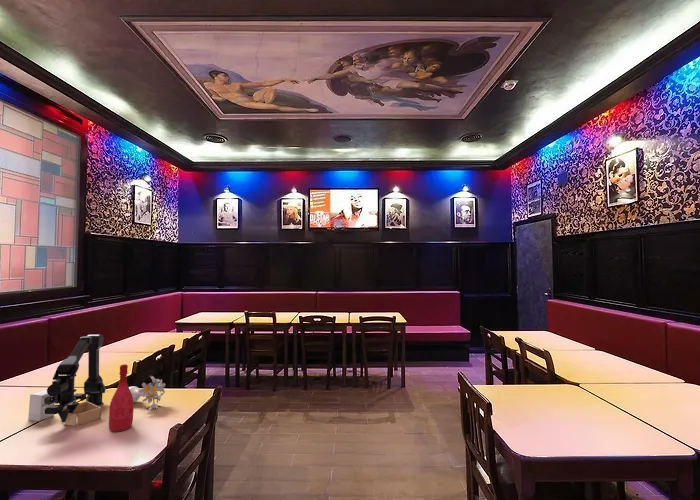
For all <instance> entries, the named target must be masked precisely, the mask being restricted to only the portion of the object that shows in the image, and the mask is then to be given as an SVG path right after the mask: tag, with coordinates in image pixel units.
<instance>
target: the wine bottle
mask: <svg viewBox="0 0 700 500" xmlns="http://www.w3.org/2000/svg"><path fill="white" fill-rule="evenodd" d="M128 367H129V366H128V365H127V364H121V365H119V383H118V386H117V388H116V390H115V392H114V394H113V396H112V398H111V400H110V404H109V409H108V411H109V412H108V414H109V415H108V429H109V431H110V432H115V433H117V432H123V431H126V430H129V429H130V428H131V427H132V426H133V422H134V421H133V420H134V410H135V409H134V408H135V407H134V406H135V405H134V404H135V403H134V401H133V397H132V394H131V392H130V390H129V387H130V386H129V385H128V381H127V374H128Z"/></svg>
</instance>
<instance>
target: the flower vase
mask: <svg viewBox="0 0 700 500" xmlns="http://www.w3.org/2000/svg"><path fill="white" fill-rule="evenodd" d="M149 377H150V380H151V381H152V382H149V383H147V384H146V382H142V383H141V386H142V388H139V387H138V386H134V385H133V386H128V387H129V390H130V392H131V394H132V397H133V401H134V404H135V403H137V402H138V401H139V399H140V398H141V397H143V398H144V399H142V402H147V403H149V404H150V406H148V407H146V408H148V409H149V410H150V411H151V409H152V410H153V409H154V410H156V409H155V408H159V407H158V406H161V405H159V404H158V403H159V402H160V401H161V399H162V396H163V395H164V394H165V393H166V391H165V387H166V383H163V379H159V378H155V377H154V376H153V375H149ZM158 392H160V393H158ZM155 400H156V402H155ZM152 401H153V402H152ZM151 403H152V404H151Z"/></svg>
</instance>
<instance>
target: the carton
mask: <svg viewBox="0 0 700 500" xmlns="http://www.w3.org/2000/svg"><path fill="white" fill-rule="evenodd" d="M78 403H79V404H78V406H77V407H76V409H75V410H74V412H73V414H77V422H76V426H77V427H78V426H82V425H84V424H87V423H92V422H94V421H97V420H101V419H102V407H101V406H99V405H95V404H92V403H90V402H88V401H86V400H85V401H83V402H82V401H81V402H78Z"/></svg>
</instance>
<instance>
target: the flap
mask: <svg viewBox="0 0 700 500" xmlns="http://www.w3.org/2000/svg"><path fill="white" fill-rule="evenodd" d="M76 422H77V414H72V413H68V415H67V418H66V421H65V422H62V425H67V426H72V427H75V426H77V425H76Z"/></svg>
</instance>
